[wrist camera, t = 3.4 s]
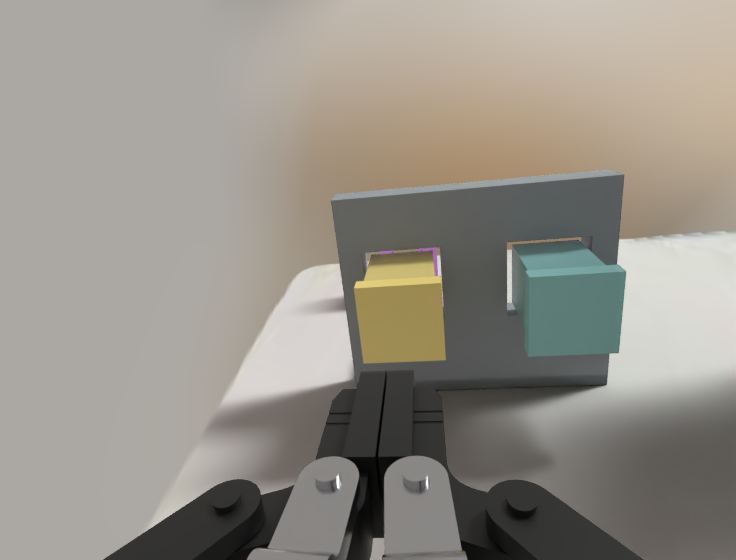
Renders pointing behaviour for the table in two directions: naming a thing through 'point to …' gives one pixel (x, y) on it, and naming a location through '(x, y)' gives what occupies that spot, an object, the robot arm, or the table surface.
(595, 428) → the table surface
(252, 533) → the robot arm
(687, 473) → the table surface
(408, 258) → the mustard button
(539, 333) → the teal button
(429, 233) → the panel
